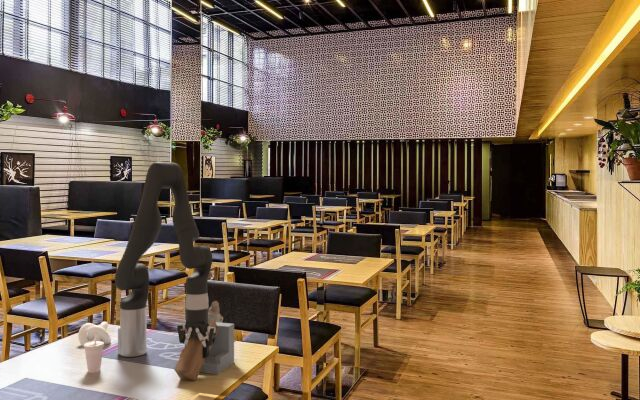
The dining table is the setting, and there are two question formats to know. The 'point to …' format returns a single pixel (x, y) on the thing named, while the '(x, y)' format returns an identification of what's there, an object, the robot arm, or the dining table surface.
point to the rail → (193, 357)
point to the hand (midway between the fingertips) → (197, 356)
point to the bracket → (220, 350)
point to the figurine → (215, 312)
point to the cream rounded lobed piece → (89, 337)
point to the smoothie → (94, 354)
